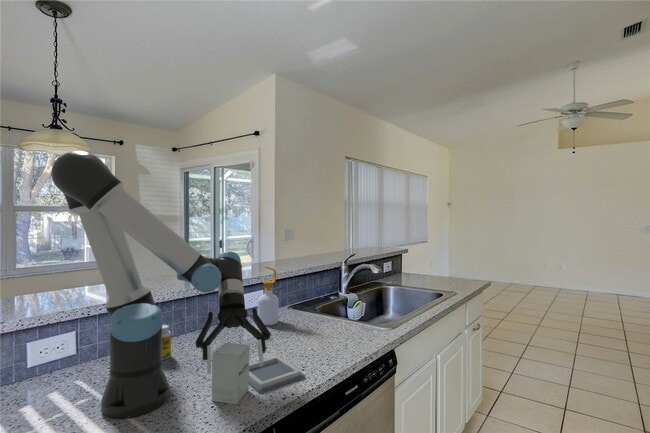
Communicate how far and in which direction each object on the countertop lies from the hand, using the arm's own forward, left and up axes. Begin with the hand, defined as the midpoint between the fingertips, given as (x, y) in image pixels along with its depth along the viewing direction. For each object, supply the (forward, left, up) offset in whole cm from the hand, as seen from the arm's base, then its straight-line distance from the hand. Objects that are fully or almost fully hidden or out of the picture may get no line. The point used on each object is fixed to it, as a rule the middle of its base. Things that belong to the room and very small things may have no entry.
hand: (236, 368), depth 92 cm
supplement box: (-1, 0, -7) cm, 7 cm away
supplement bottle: (-9, +36, -7) cm, 38 cm away
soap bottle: (+37, +47, -7) cm, 60 cm away
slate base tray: (+13, +4, -7) cm, 15 cm away
